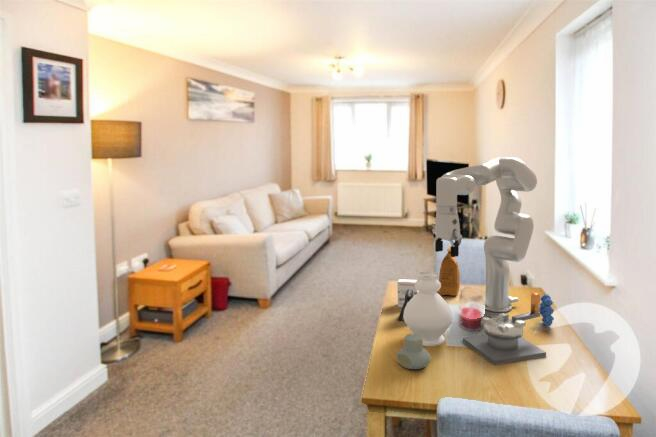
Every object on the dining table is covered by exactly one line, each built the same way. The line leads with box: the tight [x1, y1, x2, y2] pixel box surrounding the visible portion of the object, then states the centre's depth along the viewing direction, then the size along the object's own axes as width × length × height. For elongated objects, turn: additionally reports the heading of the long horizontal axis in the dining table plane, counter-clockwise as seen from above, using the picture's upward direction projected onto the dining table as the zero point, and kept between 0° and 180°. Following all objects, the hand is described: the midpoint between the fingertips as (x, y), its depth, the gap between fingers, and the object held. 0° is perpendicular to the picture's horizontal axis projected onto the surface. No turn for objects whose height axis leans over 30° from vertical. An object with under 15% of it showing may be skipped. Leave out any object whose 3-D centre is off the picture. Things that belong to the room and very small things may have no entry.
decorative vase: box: [403, 271, 453, 347], centre depth 183 cm, size 18×18×25 cm
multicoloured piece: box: [481, 292, 541, 340], centre depth 175 cm, size 23×13×12 cm, turn 115°
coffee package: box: [438, 246, 461, 296], centre depth 236 cm, size 10×12×22 cm
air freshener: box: [396, 333, 431, 370], centre depth 164 cm, size 11×8×10 cm
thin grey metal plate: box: [462, 333, 547, 366], centre depth 175 cm, size 20×20×6 cm
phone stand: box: [397, 289, 414, 323], centre depth 205 cm, size 9×6×12 cm, turn 74°
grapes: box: [539, 293, 555, 328], centre depth 195 cm, size 12×7×12 cm, turn 170°
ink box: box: [397, 278, 419, 308], centre depth 220 cm, size 9×5×12 cm, turn 75°
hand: (446, 253), depth 190 cm, fingers open, 9 cm apart
